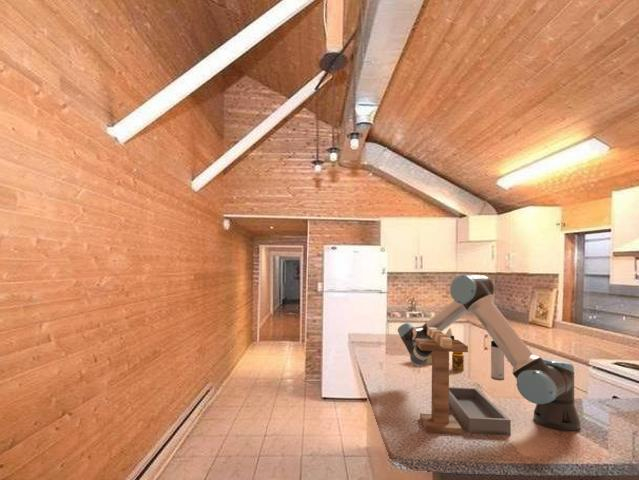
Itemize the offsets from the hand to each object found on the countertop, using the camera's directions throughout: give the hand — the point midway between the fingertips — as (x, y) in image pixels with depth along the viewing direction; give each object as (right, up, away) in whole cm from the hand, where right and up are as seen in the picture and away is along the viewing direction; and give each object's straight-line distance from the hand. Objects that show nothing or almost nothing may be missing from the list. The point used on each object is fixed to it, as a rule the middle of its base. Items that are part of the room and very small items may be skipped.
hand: (432, 331), depth 155 cm
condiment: (+32, -37, +65) cm, 81 cm away
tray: (+16, -33, -1) cm, 36 cm away
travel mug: (+48, -36, +49) cm, 78 cm away
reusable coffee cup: (+21, -38, +82) cm, 92 cm away
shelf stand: (-1, -31, -13) cm, 34 cm away
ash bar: (0, -2, -8) cm, 8 cm away
